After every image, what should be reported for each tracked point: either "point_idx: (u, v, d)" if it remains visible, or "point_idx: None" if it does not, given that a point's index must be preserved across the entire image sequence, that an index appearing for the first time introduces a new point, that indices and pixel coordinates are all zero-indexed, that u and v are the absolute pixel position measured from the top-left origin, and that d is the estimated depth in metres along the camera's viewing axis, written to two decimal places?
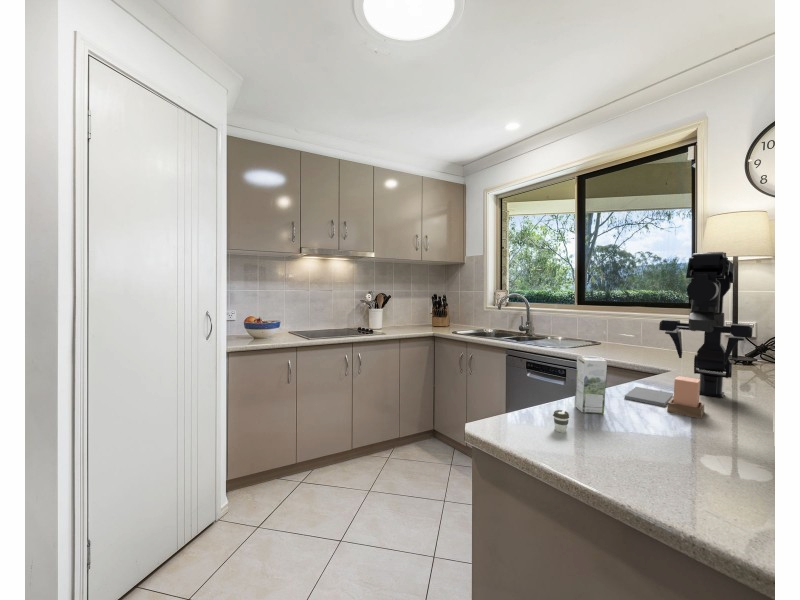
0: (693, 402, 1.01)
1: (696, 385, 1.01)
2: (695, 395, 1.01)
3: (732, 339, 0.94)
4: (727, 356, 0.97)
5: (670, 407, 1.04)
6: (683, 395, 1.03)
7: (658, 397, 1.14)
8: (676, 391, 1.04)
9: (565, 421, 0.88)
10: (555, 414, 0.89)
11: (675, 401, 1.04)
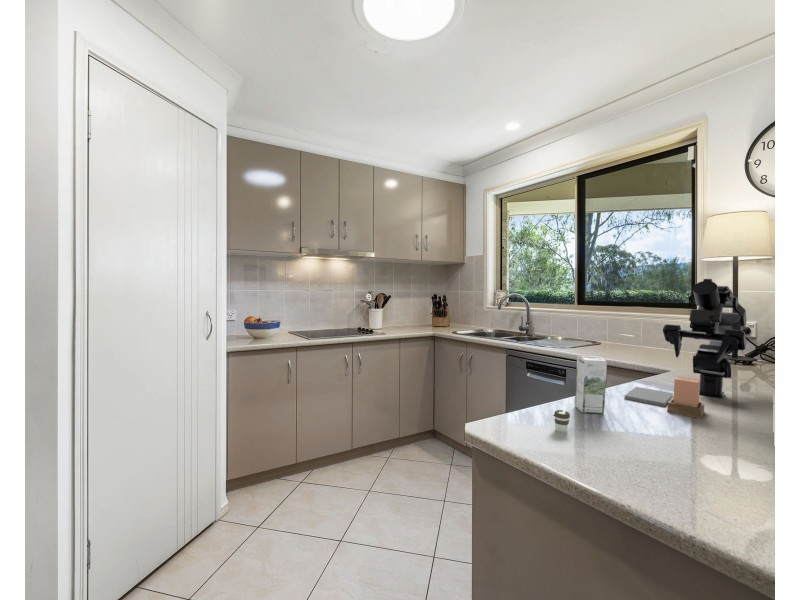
0: (693, 402, 1.01)
1: (696, 385, 1.01)
2: (695, 395, 1.01)
3: (726, 337, 1.06)
4: (719, 354, 1.05)
5: (670, 407, 1.04)
6: (683, 395, 1.03)
7: (658, 397, 1.14)
8: (676, 391, 1.04)
9: (566, 421, 0.88)
10: (556, 414, 0.89)
11: (675, 401, 1.04)
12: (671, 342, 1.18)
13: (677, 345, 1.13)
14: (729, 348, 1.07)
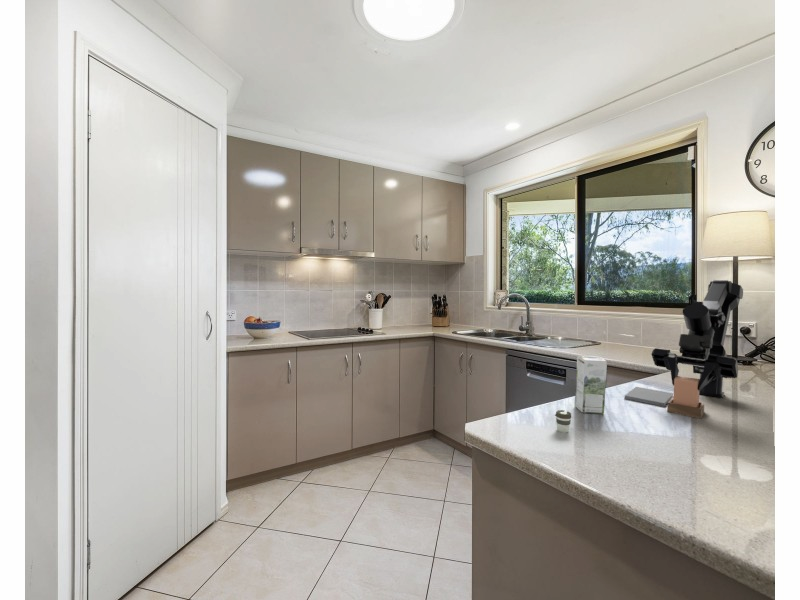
0: (693, 402, 1.01)
1: (696, 385, 1.01)
2: (695, 395, 1.01)
3: (708, 363, 1.02)
4: (701, 381, 1.01)
5: (670, 407, 1.04)
6: (683, 395, 1.03)
7: (658, 397, 1.14)
8: (676, 391, 1.04)
9: (568, 421, 0.88)
10: (557, 414, 0.89)
11: (675, 401, 1.04)
12: (668, 368, 1.11)
13: (674, 372, 1.06)
14: (712, 374, 1.03)
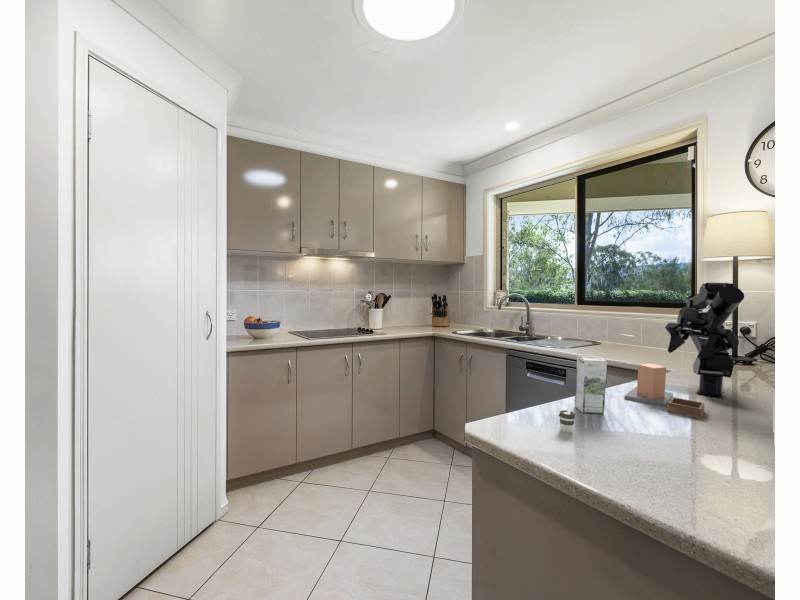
0: (650, 385, 1.13)
1: (652, 370, 1.13)
2: (652, 379, 1.13)
3: (711, 335, 1.10)
4: (702, 350, 1.10)
5: (670, 407, 1.04)
6: (644, 379, 1.15)
7: None
8: (639, 375, 1.17)
9: (571, 421, 0.88)
10: (561, 414, 0.89)
11: (638, 384, 1.17)
12: None
13: (672, 341, 1.20)
14: (719, 346, 1.10)
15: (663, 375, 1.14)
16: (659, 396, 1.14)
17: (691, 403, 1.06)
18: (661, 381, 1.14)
